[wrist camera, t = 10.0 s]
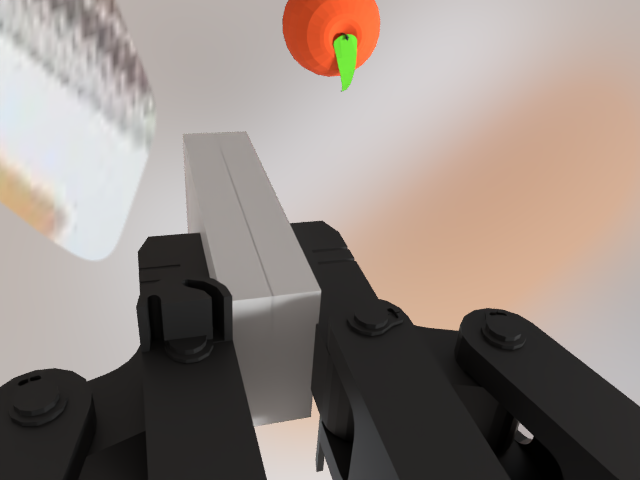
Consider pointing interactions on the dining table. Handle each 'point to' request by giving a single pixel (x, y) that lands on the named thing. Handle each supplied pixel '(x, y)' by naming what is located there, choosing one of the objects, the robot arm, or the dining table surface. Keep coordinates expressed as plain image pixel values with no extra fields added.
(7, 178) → the dining table surface
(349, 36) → the clementine
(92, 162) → the dining table surface
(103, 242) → the dining table surface
